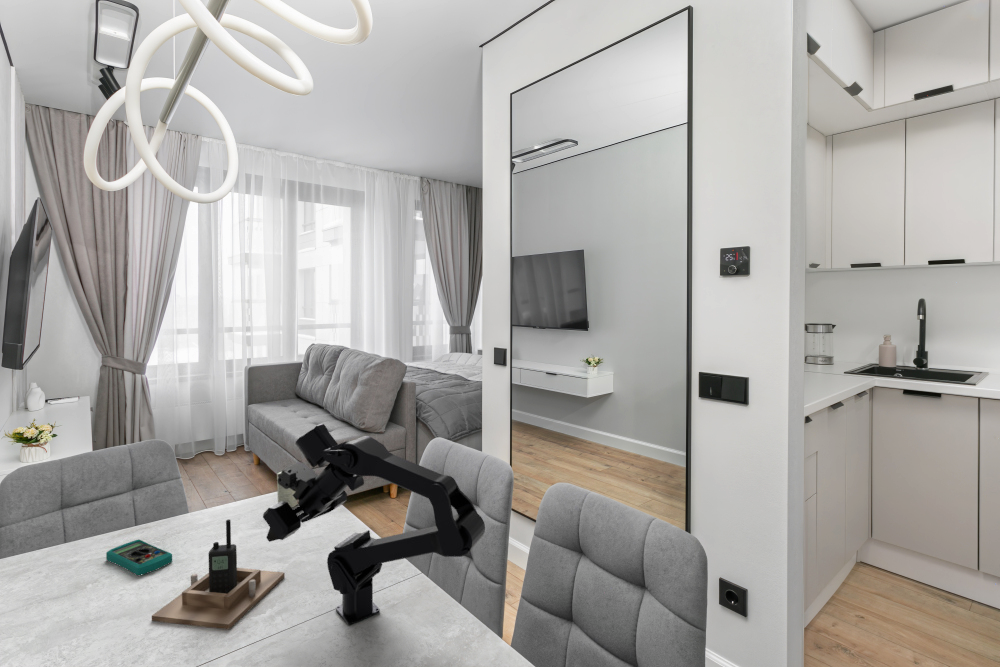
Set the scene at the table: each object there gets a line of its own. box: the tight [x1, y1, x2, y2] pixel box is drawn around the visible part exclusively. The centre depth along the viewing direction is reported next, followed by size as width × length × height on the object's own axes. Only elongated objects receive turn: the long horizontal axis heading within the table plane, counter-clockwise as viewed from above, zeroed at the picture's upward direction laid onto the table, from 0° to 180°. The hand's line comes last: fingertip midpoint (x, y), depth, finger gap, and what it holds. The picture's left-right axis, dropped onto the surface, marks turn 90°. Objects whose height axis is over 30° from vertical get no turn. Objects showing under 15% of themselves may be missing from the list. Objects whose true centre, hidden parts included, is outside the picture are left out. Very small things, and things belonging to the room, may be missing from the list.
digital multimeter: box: [105, 539, 173, 576], centre depth 115 cm, size 7×15×3 cm, turn 62°
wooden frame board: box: [151, 567, 286, 631], centre depth 101 cm, size 16×18×4 cm
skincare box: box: [276, 470, 299, 508], centre depth 149 cm, size 5×4×10 cm
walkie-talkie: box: [208, 519, 238, 594], centre depth 101 cm, size 5×3×15 cm
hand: (285, 529), depth 102 cm, fingers open, 9 cm apart
